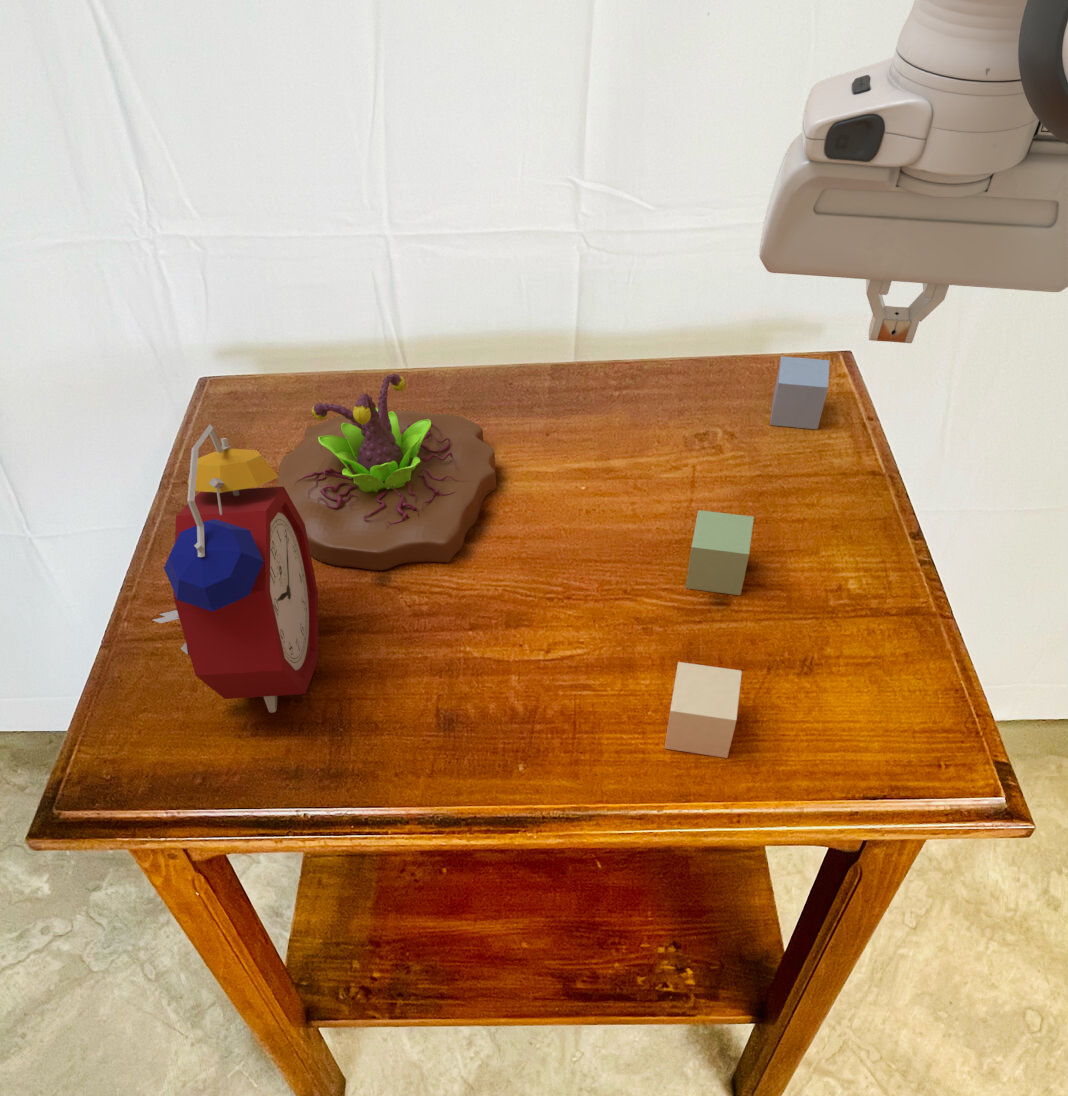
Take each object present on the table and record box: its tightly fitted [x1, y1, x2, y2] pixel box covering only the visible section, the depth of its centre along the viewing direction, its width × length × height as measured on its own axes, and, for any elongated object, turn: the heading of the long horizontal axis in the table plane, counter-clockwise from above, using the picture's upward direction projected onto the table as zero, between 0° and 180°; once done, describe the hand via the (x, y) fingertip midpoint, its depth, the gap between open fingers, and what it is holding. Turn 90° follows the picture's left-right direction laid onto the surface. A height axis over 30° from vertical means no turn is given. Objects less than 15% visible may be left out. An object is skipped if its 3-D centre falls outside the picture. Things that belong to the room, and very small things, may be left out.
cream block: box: [664, 661, 743, 759], centre depth 64 cm, size 4×4×4 cm
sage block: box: [685, 509, 755, 596], centre depth 73 cm, size 4×4×4 cm
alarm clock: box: [152, 423, 319, 714], centre depth 63 cm, size 15×9×20 cm, turn 3°
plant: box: [275, 373, 497, 571], centre depth 78 cm, size 20×20×11 cm
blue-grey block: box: [769, 355, 831, 431], centre depth 86 cm, size 4×4×4 cm
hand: (889, 337), depth 64 cm, fingers closed
